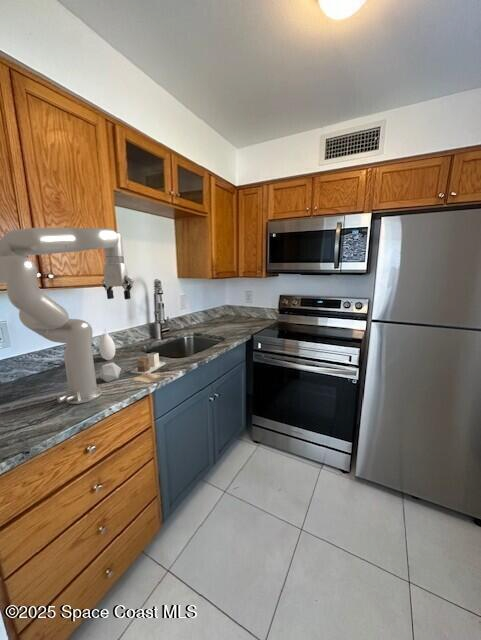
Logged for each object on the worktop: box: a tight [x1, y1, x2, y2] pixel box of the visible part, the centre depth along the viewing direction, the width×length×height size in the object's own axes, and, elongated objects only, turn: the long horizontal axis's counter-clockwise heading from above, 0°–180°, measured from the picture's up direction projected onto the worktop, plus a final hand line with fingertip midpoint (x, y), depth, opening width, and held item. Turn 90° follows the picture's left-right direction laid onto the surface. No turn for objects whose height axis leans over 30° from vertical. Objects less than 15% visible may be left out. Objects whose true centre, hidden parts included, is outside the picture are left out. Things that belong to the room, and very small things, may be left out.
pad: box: [131, 372, 161, 384], centre depth 123 cm, size 9×9×1 cm
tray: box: [129, 361, 167, 375], centre depth 135 cm, size 16×10×1 cm, turn 162°
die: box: [98, 362, 122, 383], centre depth 121 cm, size 8×9×10 cm
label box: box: [146, 352, 160, 367], centre depth 138 cm, size 4×4×6 cm
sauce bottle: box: [98, 329, 116, 361], centre depth 148 cm, size 8×8×18 cm
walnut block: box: [136, 356, 150, 372], centre depth 131 cm, size 4×4×6 cm
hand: (119, 298), depth 122 cm, fingers open, 9 cm apart
